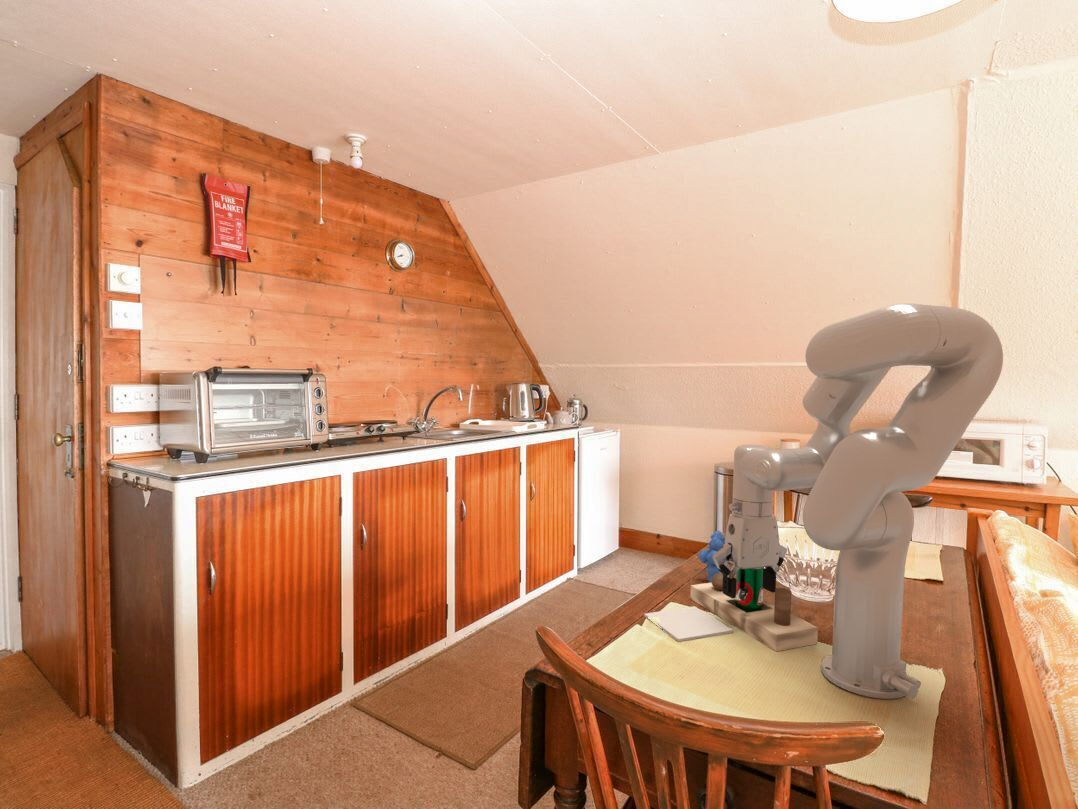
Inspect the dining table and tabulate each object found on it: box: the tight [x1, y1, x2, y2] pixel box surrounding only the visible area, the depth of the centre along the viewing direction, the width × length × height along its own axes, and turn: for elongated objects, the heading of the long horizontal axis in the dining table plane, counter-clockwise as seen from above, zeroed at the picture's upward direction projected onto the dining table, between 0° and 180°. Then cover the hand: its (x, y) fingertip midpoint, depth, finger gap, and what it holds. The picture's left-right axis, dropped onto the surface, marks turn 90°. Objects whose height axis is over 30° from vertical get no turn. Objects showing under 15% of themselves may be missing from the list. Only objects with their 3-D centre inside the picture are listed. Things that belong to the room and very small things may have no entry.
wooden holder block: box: [689, 573, 819, 652], centre depth 118 cm, size 26×9×9 cm, turn 21°
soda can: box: [735, 567, 765, 613], centre depth 118 cm, size 5×5×12 cm
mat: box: [643, 605, 734, 643], centre depth 116 cm, size 12×12×1 cm
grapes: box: [697, 530, 726, 583], centre depth 139 cm, size 12×7×12 cm, turn 155°
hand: (749, 593), depth 118 cm, fingers open, 9 cm apart
